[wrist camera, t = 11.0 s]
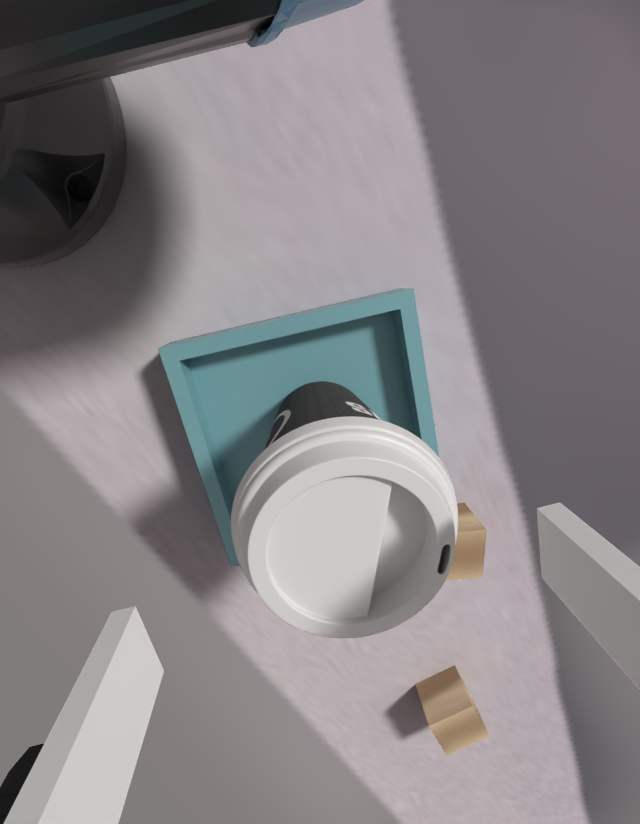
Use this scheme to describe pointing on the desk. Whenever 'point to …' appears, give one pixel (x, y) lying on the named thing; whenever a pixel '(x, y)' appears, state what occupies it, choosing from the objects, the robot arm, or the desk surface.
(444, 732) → the maple block
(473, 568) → the maple block
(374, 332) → the tray
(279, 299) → the desk surface
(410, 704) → the desk surface
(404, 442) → the coffee cup
